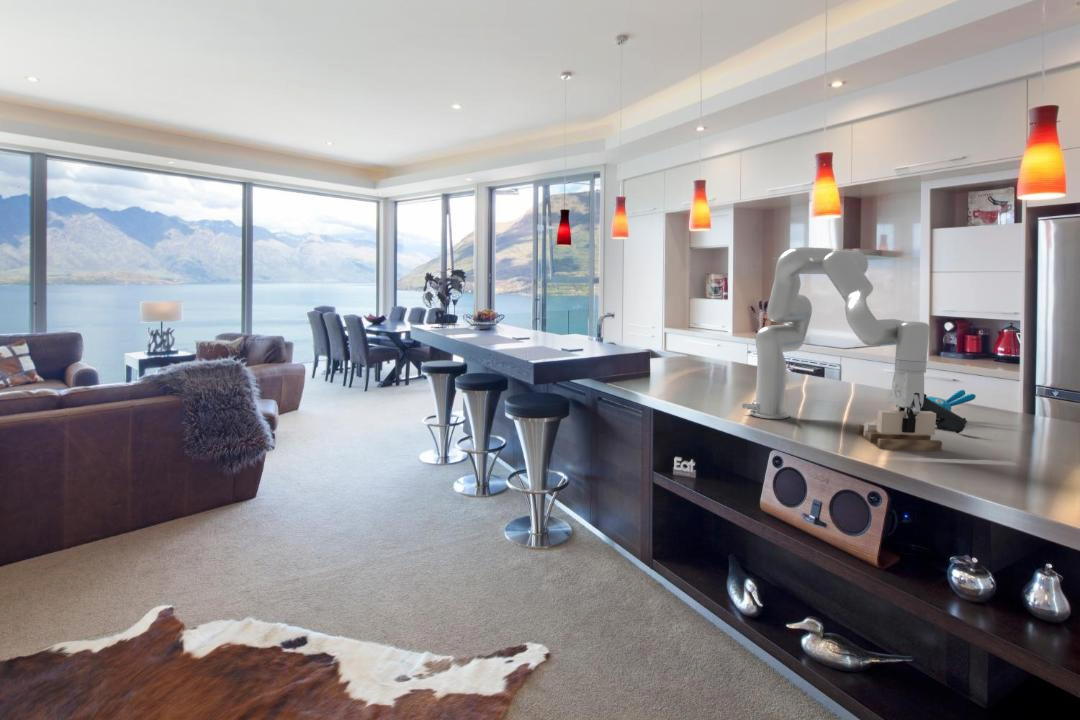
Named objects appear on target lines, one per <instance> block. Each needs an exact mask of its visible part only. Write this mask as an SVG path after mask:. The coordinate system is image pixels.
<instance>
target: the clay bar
mask: <svg viewBox="0 0 1080 720" xmlns="http://www.w3.org/2000/svg"><path fill="white" fill-rule="evenodd" d="M904 413H905V411H897V409H896V410H892V409H891V410H888V409H884V410H883V409H878V410H877V420H876V423H877V431H878V432H880V433H890V434H923V435H930V436H931V435H932V436H934V435H935V434H936V433H935V432H936V425H935V424H936V423H937V420H936V413H934V412H931V411H920V413H918V414H917V419H916V424H915V432H914V433H905V432H902V422H903V418H905V417H904ZM908 413H909V411H908Z"/></svg>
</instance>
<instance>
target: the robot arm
mask: <svg viewBox="0 0 1080 720" xmlns="http://www.w3.org/2000/svg"><path fill="white" fill-rule="evenodd" d="M775 265H776V266H775V271H774V272H775V273H774V280H773V284H772V288H771V293H770V297H769V300H768V304H767V308H766V314H767V315H766V316H767V318H768V319H769V320H770V321H772V322H774V323H783V324H774V325H773V324H772V325H766V326H764V327H761V328H760V329H759V330H758V331H757V333H756V335H755V350H756V355H757V357H756V358H757V361H756V362H757V365H756V366H757V367H756V368H757V369H756V384H755V385H756V387H755V389H756V390H755V400H753V401H752V402H750V403H747V402H741V405H740V407H741V409H742V410H743V409H746V410H750V415H751V416H754V417H756V418H760V419H768V420H770V419H771V420H783V419H787V418H789V415H790V414H789V412H788V411H786V410H785V406H786V405H785V403H786V384H787V361H786V359H785V355H784V353H787V352H789V353H790V352H794V351H797V350H799V349H800V348H801V347H802V346H803V345H804V342H805V339H806V336H807V333H808V329H809V327H810V326H809V325H810V322H811V318H812V312H813V306H812V303H811V300H810V299H809V298H808V297H807V296H806V295H804V294H801V293H800V289H801V284H802V283H801V277H800V275H804V274H805V275H826V276H827V278H829V280H830V281H831V283H832V285H833V286H834V287H835V288H836V290H837V292H838V293H839V295H840V296H841V297H842V299H843V301H844V303H845V305H844V311H845V317H846V320H847V323H848V325H849V327H850V328H851V330H852V332H853V333H854V334H855V335H856V337H857V338H858V339H859V340H860V342H862V343H863V344H864V345H866V346H869V347H883V346H895V355H894V356H895V360H894V370H893V371H894V373H893V377H892V383H891V391H890V399H889V400H890V402H891V403H892V404H894V405H895V407H896V411H905V413H904V417H905V418H903V422H902V432H905V433H914V432H915V424H916V419H917V414H918V413H920V408H921V407H922V406H923V400H924V394H925V374H926V372H927V365H928V364H927V362H928V350H929V338H930V325H929V324H928V323H927V322H923V321H905V320H900V319H895V318H894V319H893V318H892V319H891V318H890V319H884V318H883V319H877V318H876V316H874V314H873V313H872V311H871V309H870V308H869V306H868V303H867V298H868V296H870V295H871V294H872V292H873V290H874V285H873V284H872V282H871V281H870V279H868V277H867V276H866V274H865V273H866V272H867V271H868V269H869V262H868V258H867V257H866V255H865V254H864V253H863V252H861V251H858V250H847V249H838V248H828V247H810V246H809V247H808V246H805V247H804V246H803V247H793V248H790V249H787V250H786V251H784V252H783V253H781V254H780V256H779V257H778V259H777V261H776V264H775ZM910 405H912V406H913V407H910ZM909 410H910V411H909ZM908 411H909V413H908Z"/></svg>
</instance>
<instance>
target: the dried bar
mask: <svg viewBox="0 0 1080 720" xmlns="http://www.w3.org/2000/svg"><path fill="white" fill-rule="evenodd" d="M863 425H864V434H863V435H864V436H865V431H866V430H869V431H877V422H870V421H869V422H868V421H867V422H865V421H864V424H863Z"/></svg>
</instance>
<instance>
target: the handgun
mask: <svg viewBox="0 0 1080 720" xmlns="http://www.w3.org/2000/svg"><path fill="white" fill-rule="evenodd" d="M926 397H928V396H927V394H926V393H924V400H923V406H922V407H921V408H920V411H931V412H934V413H936V417H937V418H939V421H938V422H936V424H935V426H936V427H937V428H938V429H942V430H945V431H951V432H953V433H956V434H960V433H961V432H963V431H964V430H965V428H966V424H967V422H968V420H967V418H966V417H962V416H960V415H958V414H957V413H955V412H952V410H951V411H949V410H947V409H946V408H944V407H942V406H940V405H939V404H937V403H935V402H933V401H931V400H930V399H928V398H926ZM910 407H913V406H910ZM909 411H910V410H909Z"/></svg>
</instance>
